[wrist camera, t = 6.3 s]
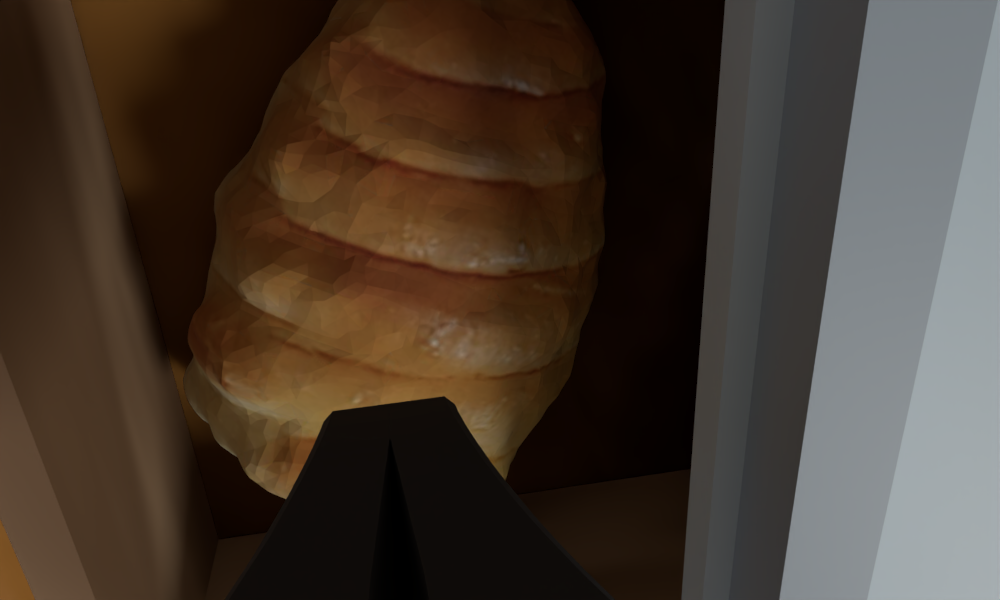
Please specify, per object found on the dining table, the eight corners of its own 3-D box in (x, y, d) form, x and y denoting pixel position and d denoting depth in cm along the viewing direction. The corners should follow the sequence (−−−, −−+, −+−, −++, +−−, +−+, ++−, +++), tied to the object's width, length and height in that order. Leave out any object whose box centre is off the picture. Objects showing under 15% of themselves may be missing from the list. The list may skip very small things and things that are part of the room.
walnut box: (192, 569, 17) (127, 814, 12) (-23, -143, 11) (-309, -201, 6) (775, 479, 18) (916, 664, 14) (864, -180, 12) (1161, -246, 8)
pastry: (281, -129, 12) (252, -155, 8) (671, 8, 14) (778, 33, 10) (188, 390, 15) (140, 523, 12) (509, 443, 17) (549, 570, 14)
